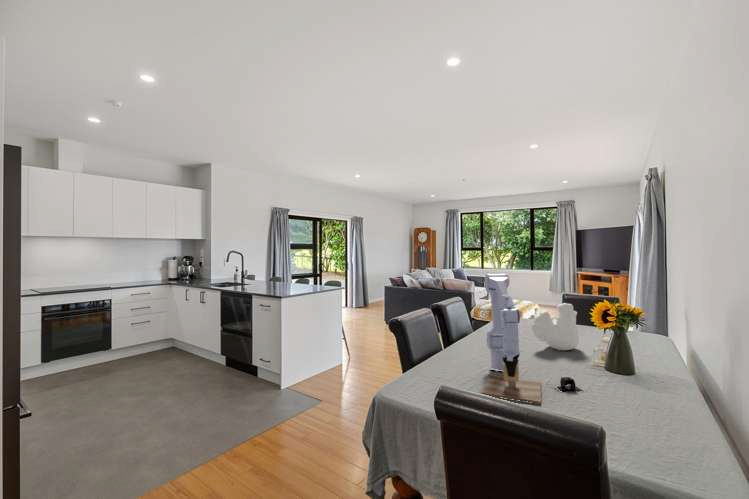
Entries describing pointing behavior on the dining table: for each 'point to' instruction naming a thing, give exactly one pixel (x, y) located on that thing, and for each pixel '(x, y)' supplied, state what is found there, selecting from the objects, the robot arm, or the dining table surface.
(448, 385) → the dining table surface
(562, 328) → the decorative rooster
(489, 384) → the base board
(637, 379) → the dining table surface
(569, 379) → the black winged block
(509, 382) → the post
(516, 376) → the tan wooden cube
